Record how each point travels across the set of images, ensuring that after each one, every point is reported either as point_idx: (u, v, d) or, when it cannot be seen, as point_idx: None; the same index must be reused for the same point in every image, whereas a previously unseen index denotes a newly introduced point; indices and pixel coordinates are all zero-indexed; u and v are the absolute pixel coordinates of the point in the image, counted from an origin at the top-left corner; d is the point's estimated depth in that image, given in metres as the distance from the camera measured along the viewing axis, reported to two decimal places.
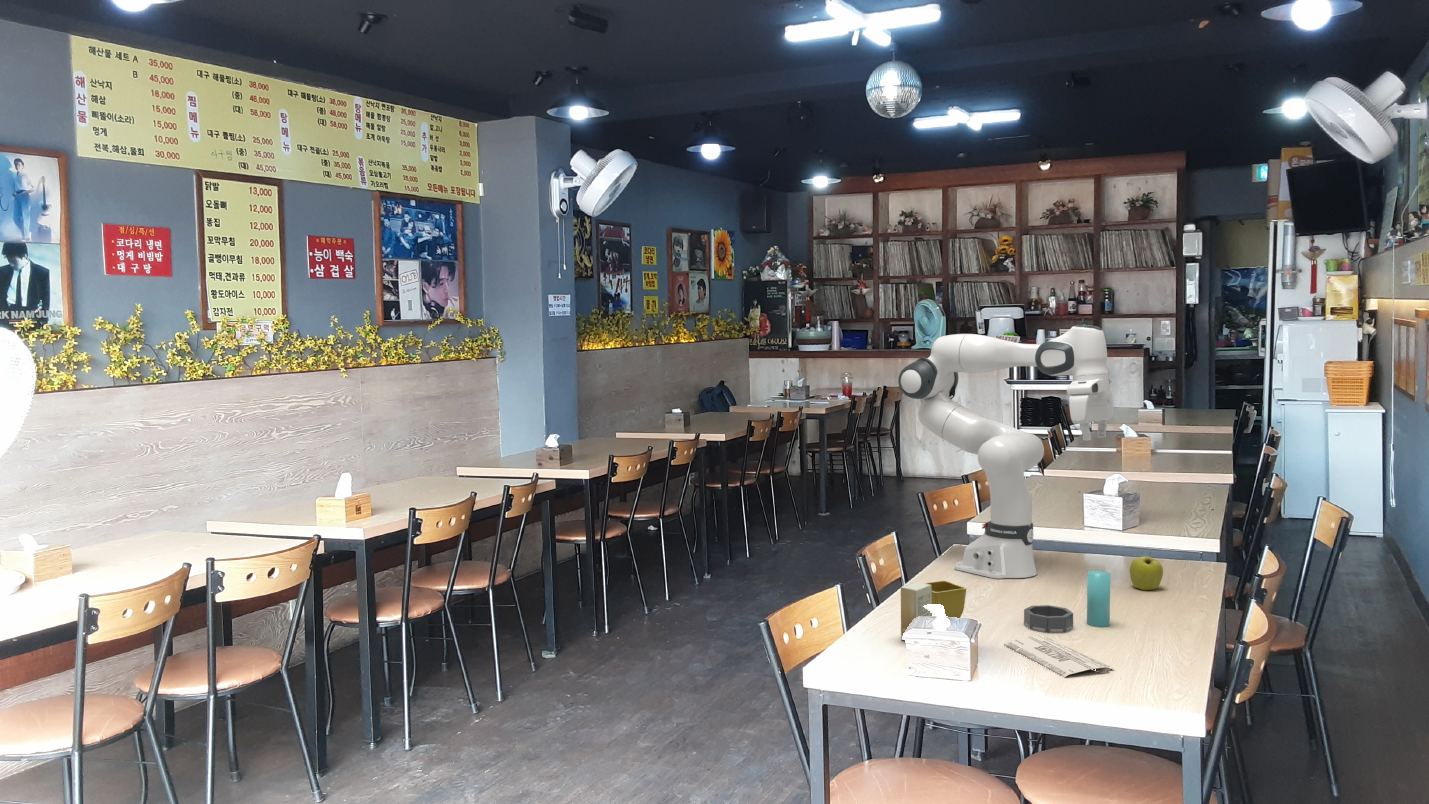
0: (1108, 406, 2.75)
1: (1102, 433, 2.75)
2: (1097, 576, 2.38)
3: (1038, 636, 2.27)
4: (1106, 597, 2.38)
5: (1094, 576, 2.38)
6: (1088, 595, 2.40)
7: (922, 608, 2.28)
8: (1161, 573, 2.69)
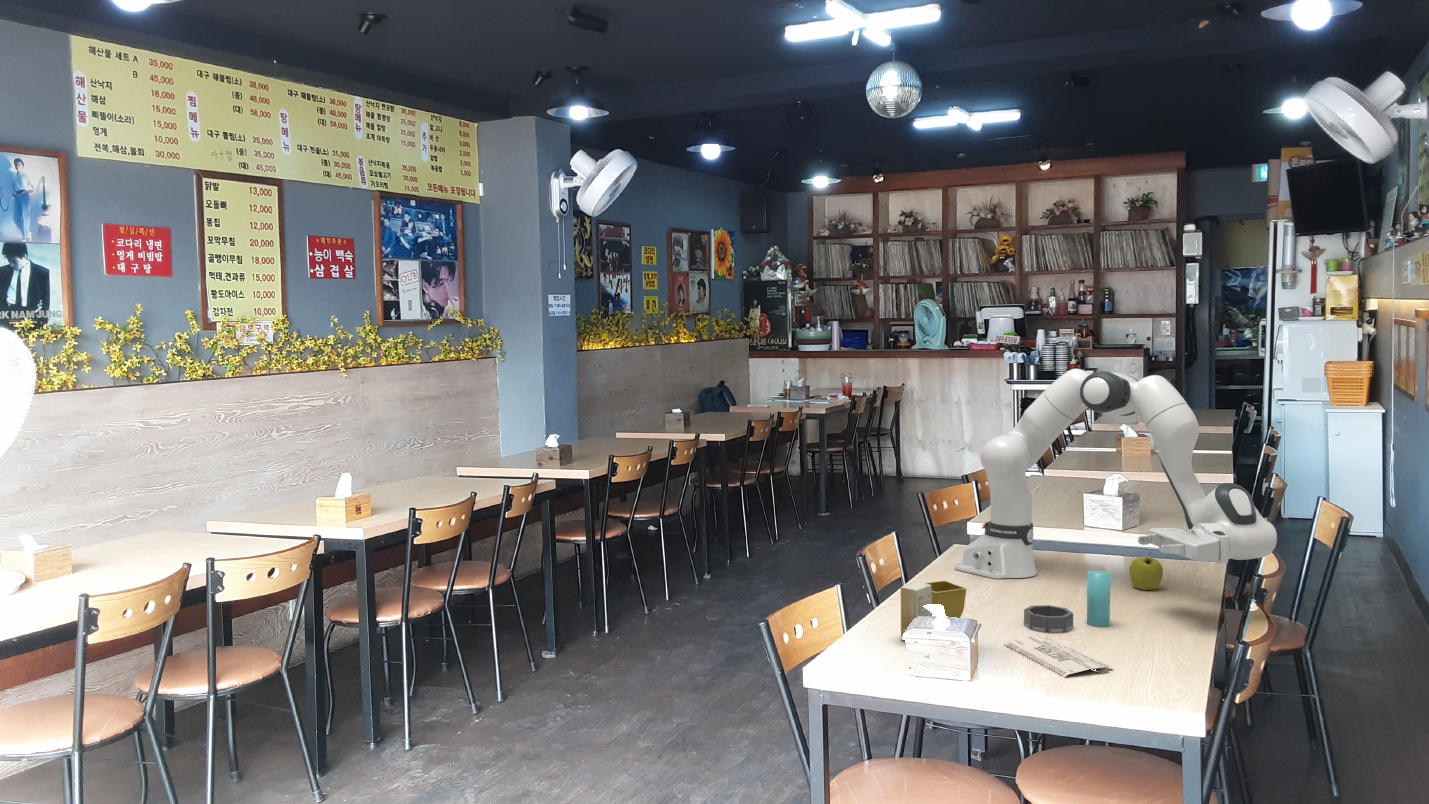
0: None
1: (1144, 542, 2.45)
2: (1097, 576, 2.38)
3: (1038, 637, 2.27)
4: (1106, 597, 2.38)
5: (1094, 576, 2.38)
6: (1088, 595, 2.40)
7: (922, 608, 2.28)
8: (1161, 573, 2.69)
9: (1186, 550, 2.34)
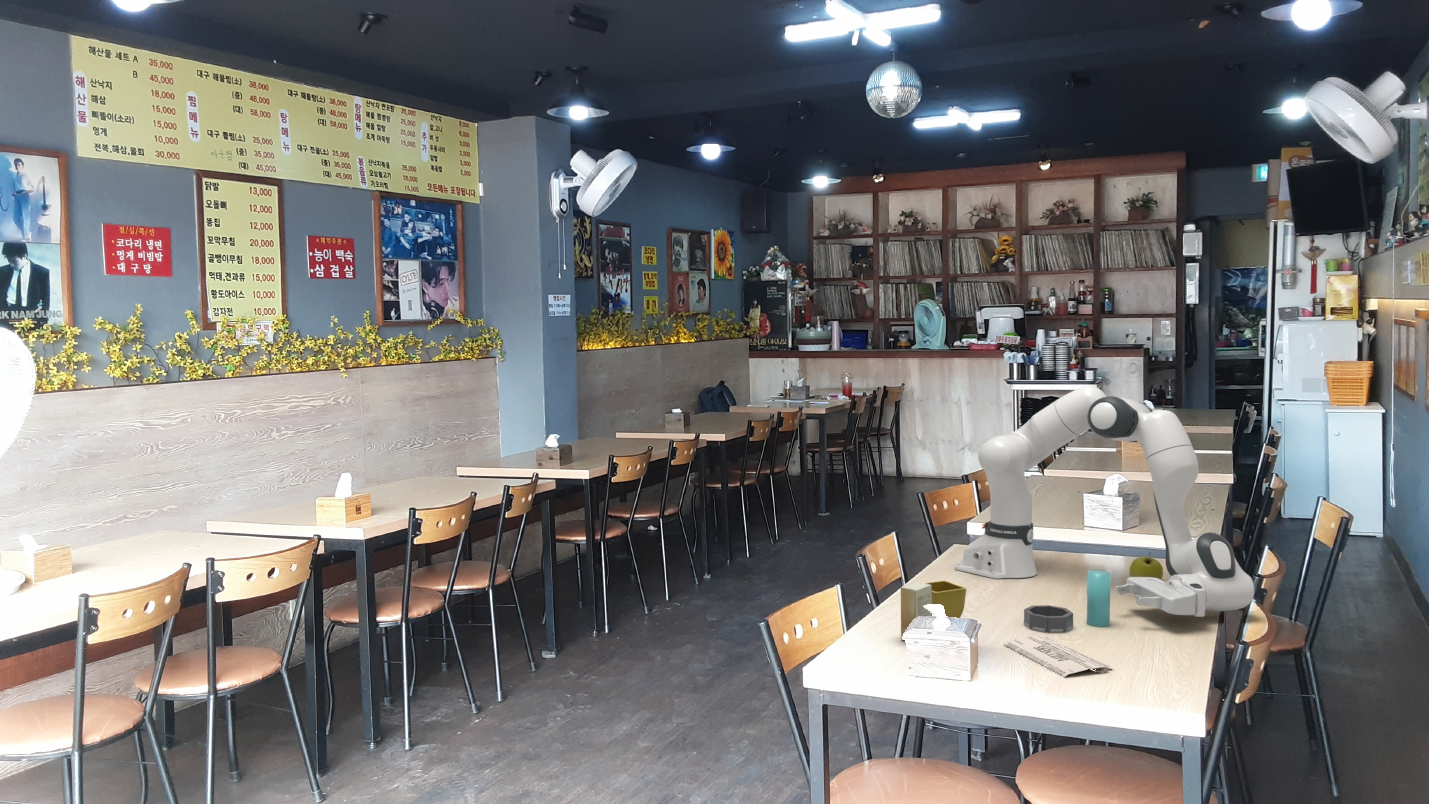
0: None
1: (1122, 592, 2.46)
2: (1097, 576, 2.38)
3: (1037, 636, 2.27)
4: (1106, 597, 2.38)
5: (1094, 576, 2.38)
6: (1088, 595, 2.40)
7: (922, 608, 2.28)
8: (1161, 573, 2.69)
9: (1163, 603, 2.34)
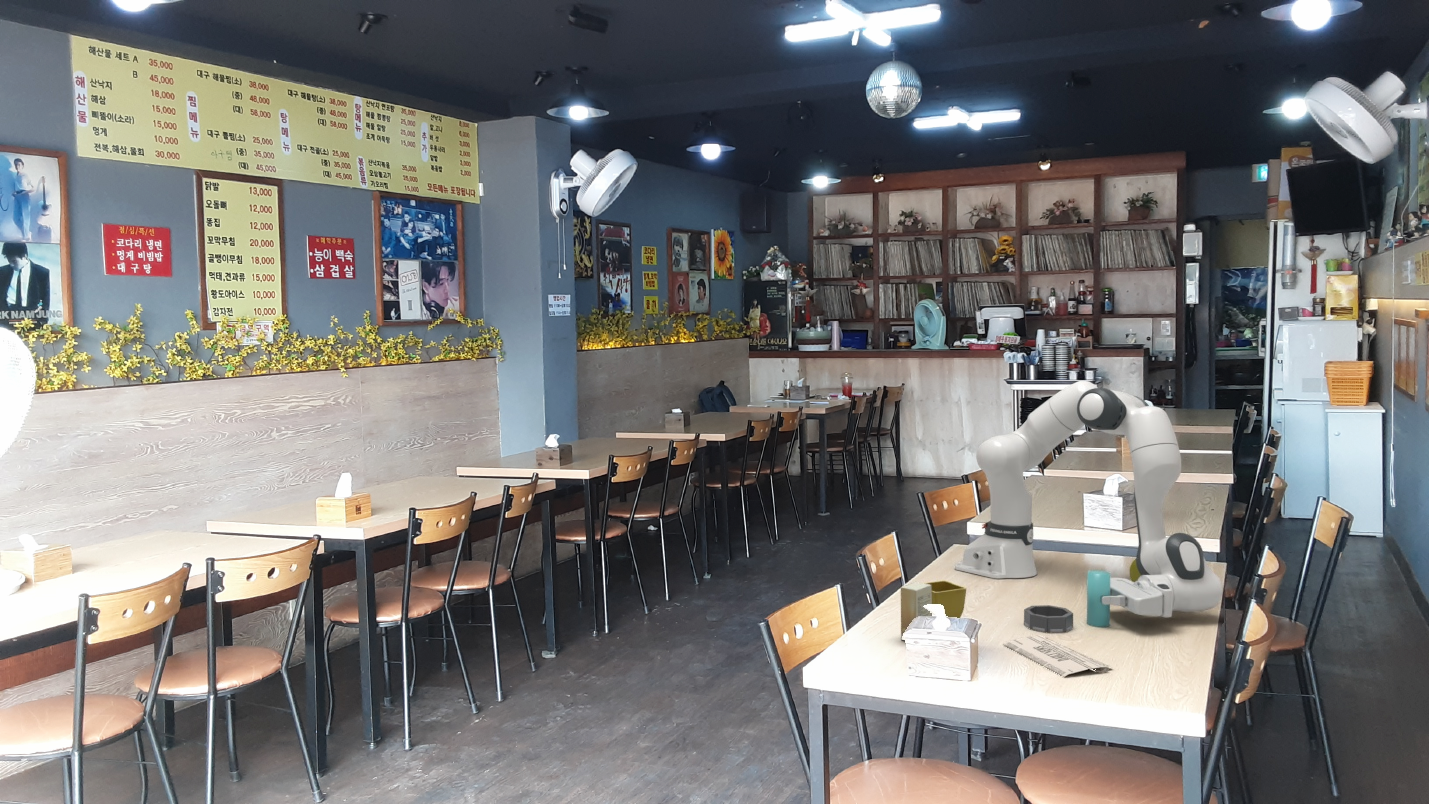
0: None
1: None
2: (1097, 576, 2.38)
3: (1037, 636, 2.27)
4: None
5: (1094, 576, 2.38)
6: (1088, 595, 2.40)
7: (922, 608, 2.28)
8: None
9: (1130, 604, 2.33)
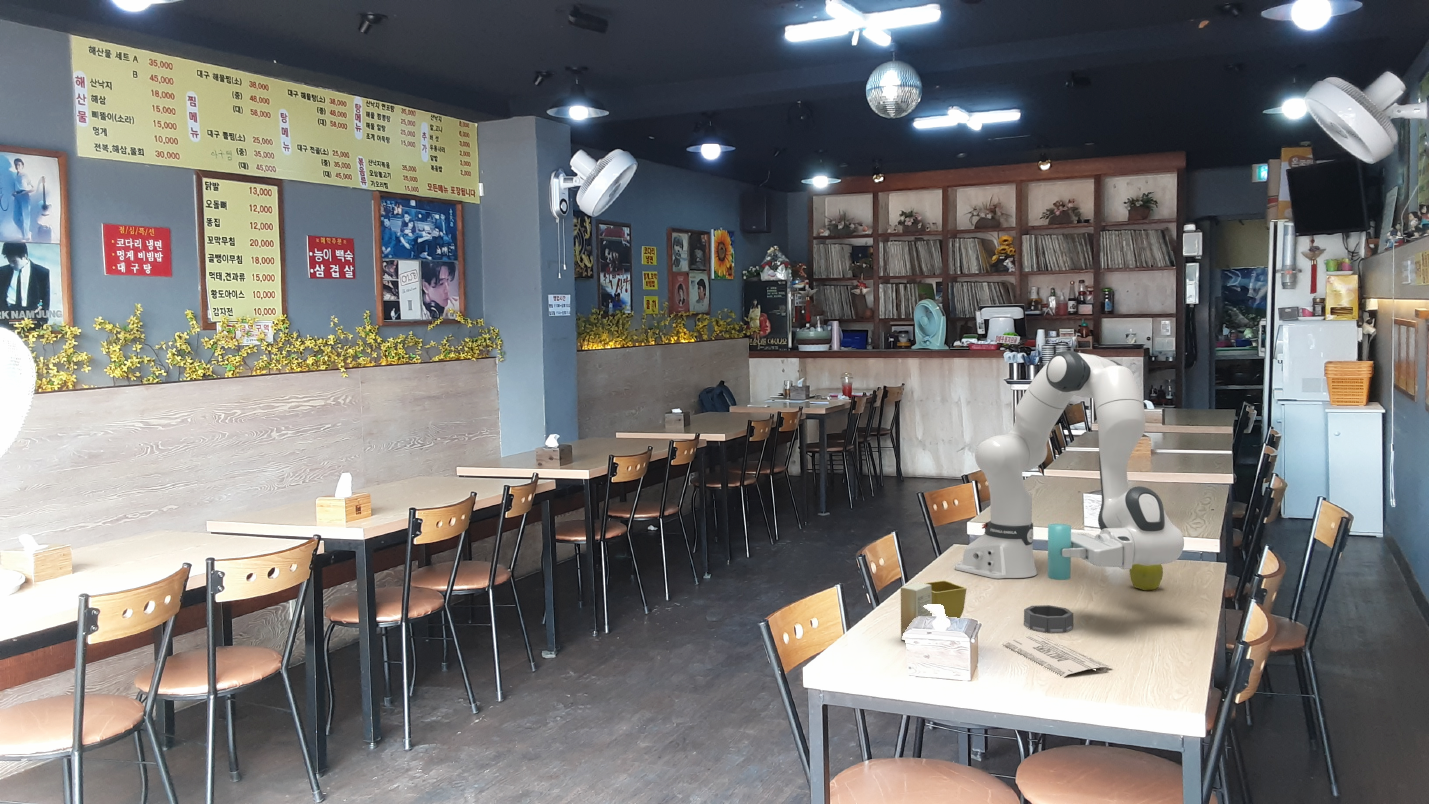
0: None
1: None
2: (1057, 528, 2.36)
3: (1036, 636, 2.27)
4: None
5: (1055, 528, 2.36)
6: (1049, 548, 2.38)
7: (922, 608, 2.28)
8: (1161, 573, 2.69)
9: (1089, 555, 2.32)
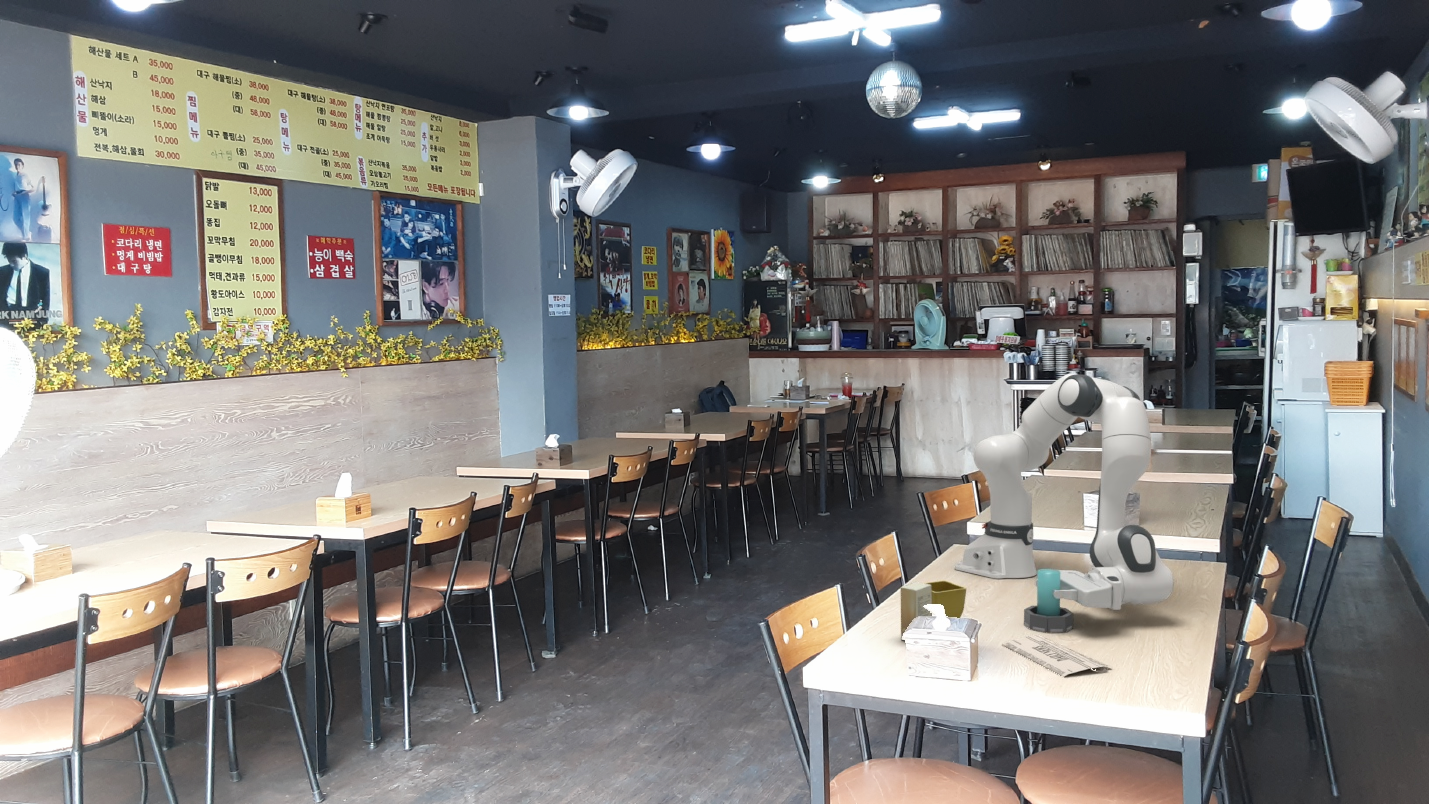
0: None
1: None
2: (1047, 575, 2.36)
3: (1035, 636, 2.27)
4: None
5: (1044, 574, 2.37)
6: (1038, 593, 2.38)
7: (922, 608, 2.28)
8: None
9: (1078, 596, 2.32)
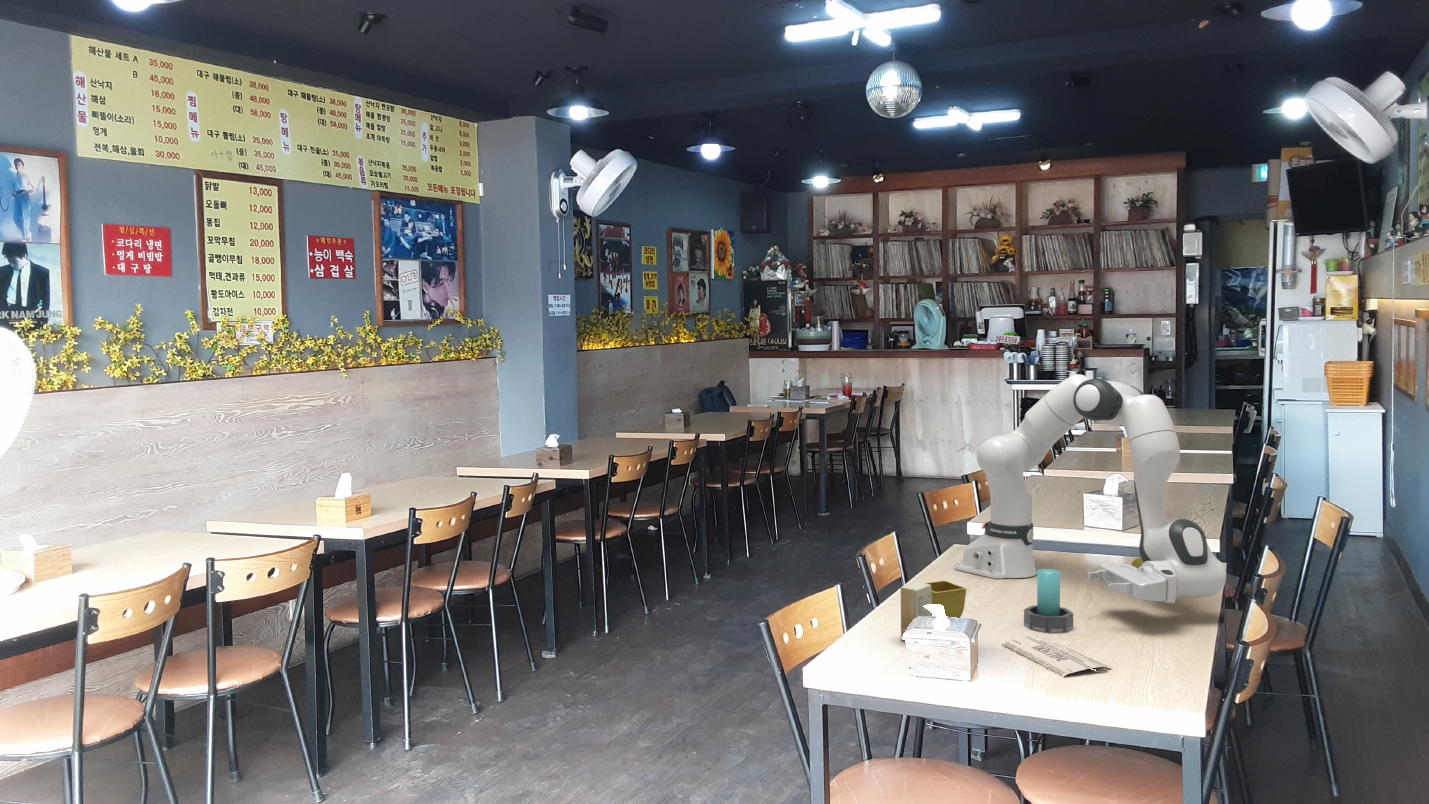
0: None
1: (1094, 578, 2.45)
2: (1046, 574, 2.36)
3: (1035, 636, 2.27)
4: (1056, 596, 2.37)
5: (1044, 574, 2.37)
6: (1038, 593, 2.39)
7: (922, 608, 2.28)
8: None
9: (1133, 589, 2.33)
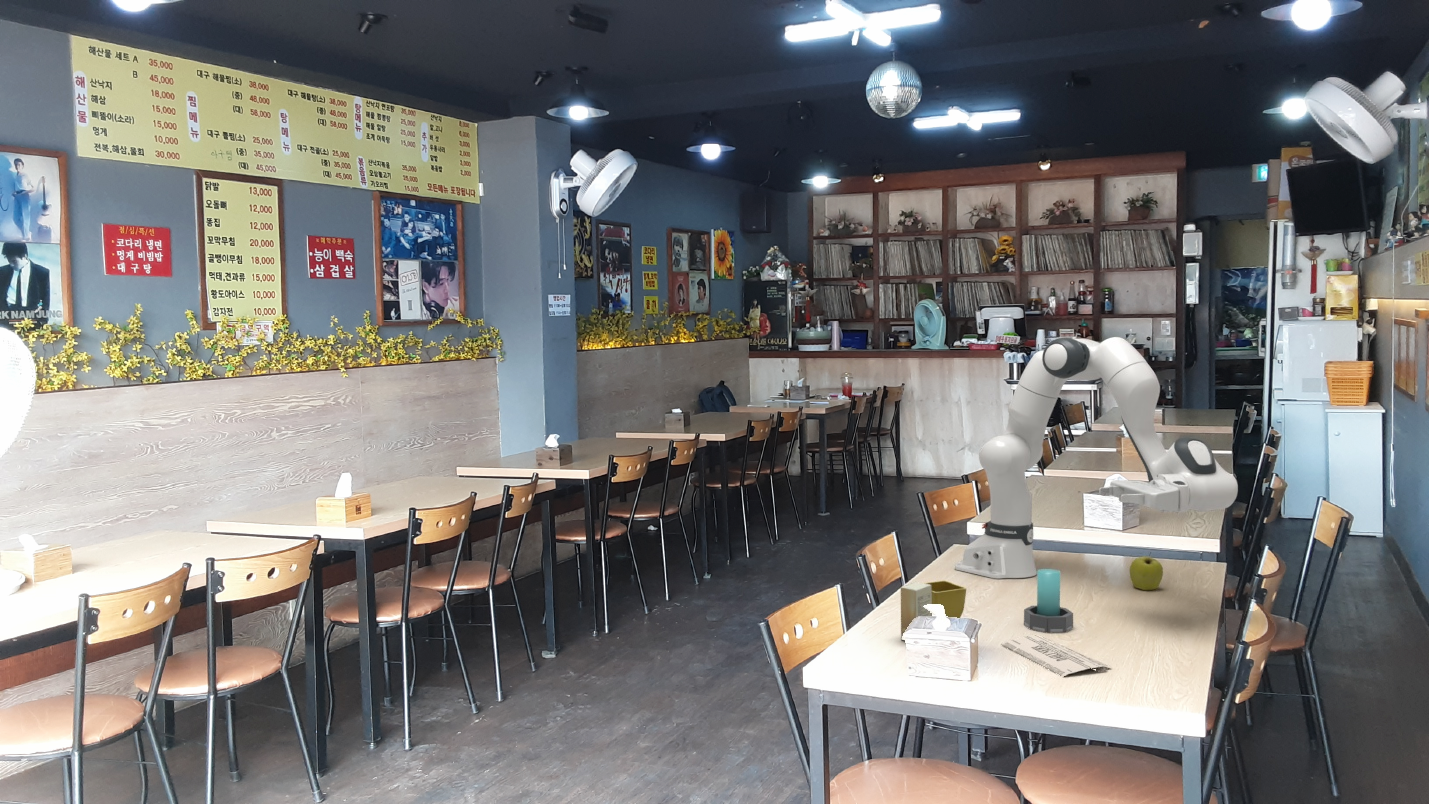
0: None
1: (1105, 493, 2.44)
2: (1046, 574, 2.36)
3: (1034, 636, 2.27)
4: (1056, 596, 2.37)
5: (1044, 574, 2.37)
6: (1038, 593, 2.39)
7: (922, 608, 2.28)
8: (1161, 573, 2.69)
9: (1145, 499, 2.33)
